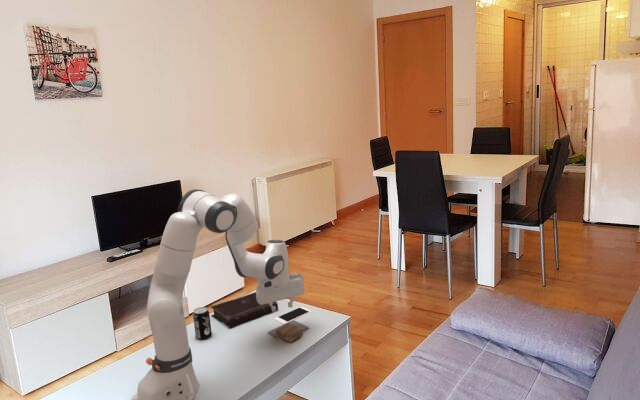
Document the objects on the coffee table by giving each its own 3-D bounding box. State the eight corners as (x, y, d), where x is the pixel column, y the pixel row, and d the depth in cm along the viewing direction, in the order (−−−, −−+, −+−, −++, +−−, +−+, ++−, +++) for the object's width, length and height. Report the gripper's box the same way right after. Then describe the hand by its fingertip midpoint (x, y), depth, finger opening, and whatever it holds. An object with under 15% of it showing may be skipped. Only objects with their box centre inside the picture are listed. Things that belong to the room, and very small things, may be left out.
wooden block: (302, 328, 207) (288, 322, 213) (290, 335, 202) (275, 329, 208) (302, 334, 208) (288, 329, 213) (290, 342, 203) (276, 336, 208)
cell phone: (273, 319, 226) (273, 318, 226) (301, 307, 236) (301, 306, 236) (284, 325, 220) (284, 323, 220) (312, 312, 231) (312, 310, 230)
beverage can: (213, 332, 217) (210, 306, 214) (209, 340, 211) (205, 313, 208) (198, 332, 218) (195, 306, 215) (193, 340, 211) (190, 313, 208)
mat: (282, 341, 206) (282, 339, 205) (267, 333, 213) (267, 331, 213) (308, 328, 215) (308, 326, 214) (293, 321, 222) (293, 319, 222)
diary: (278, 312, 234) (278, 302, 233) (230, 330, 219) (228, 320, 218) (257, 299, 248) (256, 289, 247) (210, 316, 234) (209, 305, 232)
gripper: (300, 270, 216) (302, 300, 219) (253, 280, 208) (256, 311, 211) (305, 274, 210) (308, 305, 213) (257, 285, 202) (261, 317, 206)
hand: (282, 308), depth 212 cm, fingers open, 6 cm apart
